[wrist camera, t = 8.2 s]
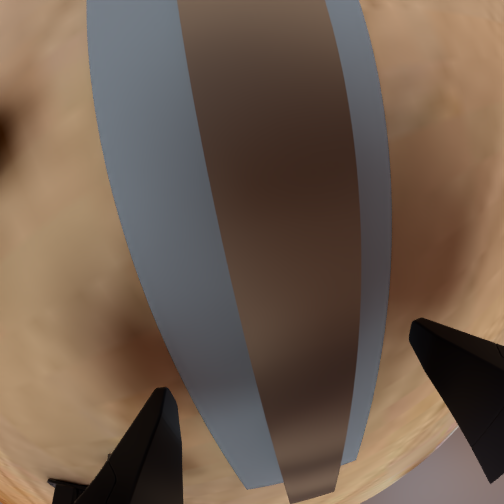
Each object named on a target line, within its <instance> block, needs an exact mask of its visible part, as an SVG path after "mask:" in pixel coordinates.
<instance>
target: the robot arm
mask: <svg viewBox="0 0 504 504" xmlns="http://www.w3.org/2000/svg"><path fill="white" fill-rule="evenodd" d="M409 342H410V344H411V346H412V348H413V350H414V351H415V353H416V355H417V357H418V359H419V361H420V363H421V365H422V367H423V369H424V370H425V372H426V374H427V375H428V377H429V379H430V380H431V382H432V383H433V385H434V386H435V388H436V389H437V391H438V393H439V394H440V396H441V397H442V399H443V400H444V402H445V404H446V405H447V407H448V409H449V410H450V412H451V413H452V415H453V417H454V418H455V420H456V422H457V424H458V425H459V427H460V429H461V430H462V432H463V434H464V436H465V437H466V439H467V441H468V443H469V444H470V446H471V447H472V450H473V452H474V454H475V456H476V458H477V459H478V461H479V463H480V465H481V466H482V469H483V471H484V473H485V475H486V477H487V479H488V481H489V482H490V484H491V483H493V482H494V481H495V480H496V479H498V478H499V477H500V476H501V475H502V474H503V473H504V346H502V345H499V344H495V343H493V342H491V341H488V340H485V339H482V338H479V337H476V336H473V335H470V334H468V333H465V332H462V331H459V330H456V329H453V328H450V327H448V326H445V325H442V324H439V323H436V322H433V321H431V320H428V319H425V318H418V319H416V320H414V321H413V322H412V324H411V329H410V334H409ZM108 460H109V461H106V463H105V464H104V466H103V467H102V469H101V470H100V472H99V473H98V474H97V476H96V477H95V479H94V480H93V481H92V482H91V483H90V485H89V486H88V487H85V486H79V485H74V484H69V483H64V482H59V481H55V480H51V479H48V481H47V483H49V484H50V485H51V486H53V487H54V488H55V491H54V496H53V501H52V504H183V478H182V441H181V433H180V425H179V416H178V407H177V403H176V400H175V399H174V397H173V395H172V394H171V392H170V390H169V389H168V388H167V387H162V388H156V389H155V390H154V392H153V393H152V395H151V396H150V398H149V399H148V401H147V402H146V404H145V405H144V407H143V408H142V410H141V411H140V412H139V414H138V415H137V417H136V418H135V420H134V421H133V423H132V424H131V426H130V427H129V429H128V430H127V432H126V433H125V435H124V436H123V438H122V439H121V441H120V442H119V444H118V445H117V447H116V448H115V450H114V451H113V453H112V454H111V456H110V457H109V459H108Z"/></svg>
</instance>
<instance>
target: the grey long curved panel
mask: <svg viewBox="0 0 504 504" xmlns="http://www.w3.org/2000/svg"><path fill="white" fill-rule="evenodd" d="M325 2H326V6H327V9H328V13H329V16H330V20H331V23H332V27H333V31H334V35H335V39H336V43H337V47H338V52H339V56H340V61H341V65H342V70H343V75H344V80H345V86H346V91H347V97H348V103H349V109H350V116H351V122H352V130H353V137H354V146H355V154H356V164H357V175H358V187H359V202H360V222H361V306H360V326H359V341H358V353H357V364H356V373H355V382H354V390H353V398H352V405H351V412H350V418H349V424H348V430H347V436H346V441H345V446H344V451H343V456H342V461H341V465H344V464H346V463H349V462H352V461H354V460H356V458H357V455H358V452H359V448H360V445H361V442H362V438H363V435H364V431H365V427H366V424H367V420H368V416H369V412H370V408H371V404H372V399H373V395H374V390H375V385H376V380H377V375H378V370H379V364H380V359H381V353H382V346H383V339H384V332H385V325H386V316H387V307H388V297H389V285H390V270H391V248H392V197H391V175H390V160H389V148H388V138H387V129H386V121H385V114H384V107H383V100H382V94H381V88H380V83H379V77H378V72H377V67H376V63H375V58H374V54H373V49H372V45H371V41H370V37H369V33H368V30H367V26H366V22H365V19H364V16H363V12H362V9H361V6H360V3H359V0H325ZM87 37H88V53H89V65H90V75H91V83H92V91H93V99H94V106H95V112H96V118H97V124H98V130H99V135H100V140H101V145H102V150H103V155H104V160H105V164H106V168H107V173H108V177H109V181H110V185H111V189H112V193H113V197H114V201H115V204H116V208H117V211H118V215H119V218H120V222H121V225H122V229H123V232H124V235H125V238H126V242H127V245H128V248H129V251H130V254H131V257H132V260H133V263H134V266H135V269H136V271H137V274H138V277H139V280H140V283H141V285H142V288H143V291H144V293H145V296H146V299H147V301H148V304H149V306H150V309H151V311H152V314H153V316H154V319H155V321H156V323H157V326H158V328H159V331H160V333H161V335H162V337H163V340H164V342H165V344H166V347H167V349H168V351H169V353H170V355H171V358H172V360H173V362H174V364H175V366H176V368H177V370H178V372H179V374H180V376H181V378H182V380H183V382H184V384H185V386H186V388H187V390H188V392H189V394H190V396H191V398H192V400H193V402H194V404H195V406H196V408H197V409H198V411H199V413H200V415H201V417H202V418H203V420H204V422H205V424H206V426H207V427H208V429H209V431H210V433H211V434H212V436H213V438H214V439H215V441H216V443H217V444H218V446H219V448H220V449H221V451H222V453H223V454H224V456H225V457H226V459H227V460H228V462H229V464H230V465H231V467H232V468H233V470H234V471H235V473H236V474H237V476H238V477H239V479H240V480H241V482H242V483H243V485H244V486H245V488H246V489H247V490H248V489H253V488H259V487H264V486H269V485H274V484H279V483H283V478H282V475H281V471H280V468H279V464H278V461H277V457H276V454H275V450H274V447H273V443H272V440H271V436H270V433H269V429H268V425H267V422H266V418H265V414H264V410H263V407H262V403H261V399H260V395H259V392H258V388H257V384H256V380H255V376H254V372H253V369H252V365H251V361H250V357H249V353H248V349H247V345H246V341H245V337H244V333H243V329H242V325H241V320H240V316H239V312H238V308H237V304H236V300H235V295H234V291H233V287H232V282H231V278H230V274H229V269H228V265H227V261H226V256H225V252H224V247H223V243H222V238H221V234H220V229H219V225H218V220H217V215H216V211H215V206H214V201H213V197H212V192H211V187H210V182H209V177H208V172H207V167H206V163H205V158H204V152H203V147H202V142H201V137H200V132H199V127H198V121H197V116H196V111H195V105H194V100H193V94H192V89H191V83H190V78H189V72H188V66H187V60H186V54H185V48H184V42H183V36H182V30H181V23H180V17H179V10H178V4H177V0H87ZM341 465H340V466H341Z"/></svg>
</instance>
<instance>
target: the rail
mask: <svg viewBox="0 0 504 504" xmlns="http://www.w3.org/2000/svg"><path fill="white" fill-rule="evenodd" d="M177 4H178V10H179V17H180V23H181V30H182V36H183V42H184V48H185V54H186V60H187V66H188V72H189V78H190V83H191V89H192V94H193V100H194V105H195V111H196V116H197V121H198V127H199V132H200V137H201V142H202V147H203V152H204V158H205V163H206V167H207V172H208V177H209V182H210V187H211V192H212V197H213V201H214V206H215V211H216V215H217V220H218V225H219V229H220V234H221V238H222V243H223V247H224V252H225V256H226V261H227V265H228V269H229V274H230V278H231V282H232V287H233V291H234V295H235V300H236V304H237V308H238V312H239V316H240V320H241V325H242V329H243V333H244V337H245V341H246V345H247V349H248V353H249V357H250V361H251V365H252V369H253V372H254V376H255V380H256V384H257V388H258V392H259V395H260V399H261V403H262V407H263V410H264V414H265V418H266V422H267V425H268V429H269V433H270V436H271V440H272V443H273V447H274V450H275V454H276V457H277V461H278V464H279V468H280V471H281V475H282V478H283V482H284V485H285V488H286V492H287V495H288V498H289V502H290V504H292V503H296V502H300V501H304V500H308V499H311V498H315V497H318V496H321V495H325V494H328V493H331V492H334V490H335V487H336V482H337V478H338V474H339V470H340V465H341V461H342V456H343V451H344V446H345V441H346V436H347V430H348V424H349V418H350V412H351V405H352V398H353V390H354V382H355V373H356V364H357V353H358V341H359V326H360V306H361V222H360V202H359V187H358V175H357V164H356V154H355V146H354V137H353V130H352V122H351V116H350V109H349V103H348V97H347V91H346V86H345V80H344V75H343V70H342V65H341V61H340V56H339V52H338V47H337V43H336V39H335V35H334V31H333V27H332V23H331V20H330V16H329V13H328V9H327V6H326V2H325V0H177Z"/></svg>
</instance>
